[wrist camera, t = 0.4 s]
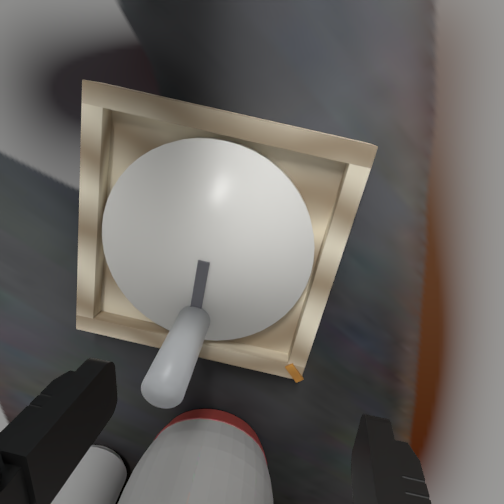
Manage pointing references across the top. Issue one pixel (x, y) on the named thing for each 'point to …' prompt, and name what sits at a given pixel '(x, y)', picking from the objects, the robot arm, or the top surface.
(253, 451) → the citrus juicer
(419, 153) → the top surface
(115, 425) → the top surface
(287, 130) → the dial housing
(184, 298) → the dial
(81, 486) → the can
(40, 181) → the top surface
